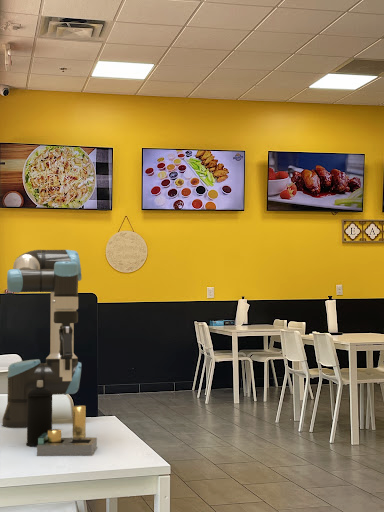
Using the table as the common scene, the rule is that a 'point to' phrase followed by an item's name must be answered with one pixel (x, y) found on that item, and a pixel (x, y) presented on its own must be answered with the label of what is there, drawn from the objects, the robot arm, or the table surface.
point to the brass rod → (79, 421)
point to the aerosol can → (38, 413)
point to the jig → (64, 445)
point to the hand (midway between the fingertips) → (65, 378)
